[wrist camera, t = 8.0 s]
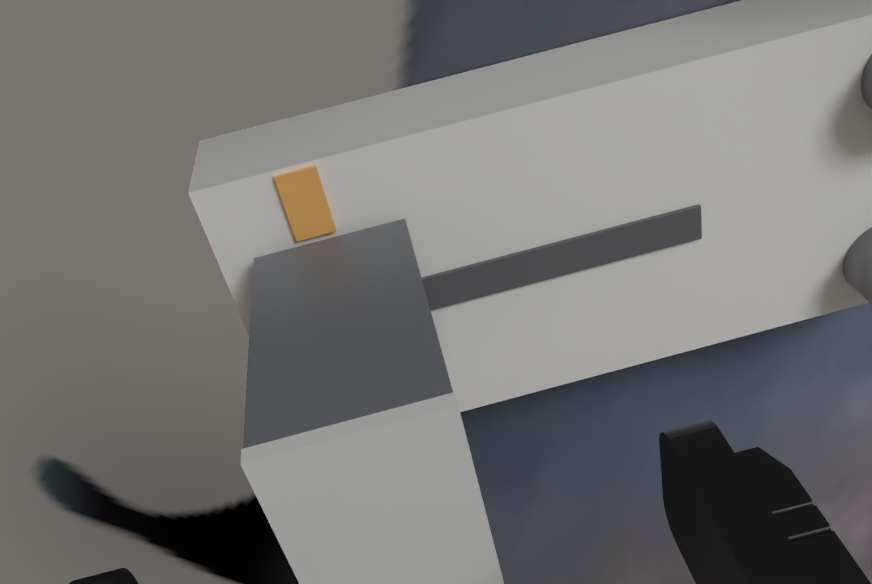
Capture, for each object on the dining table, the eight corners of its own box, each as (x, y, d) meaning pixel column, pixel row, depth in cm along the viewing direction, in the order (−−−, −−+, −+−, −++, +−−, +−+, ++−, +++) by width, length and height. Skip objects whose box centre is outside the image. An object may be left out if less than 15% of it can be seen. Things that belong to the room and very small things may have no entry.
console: (926, -48, 17) (1056, -11, 14) (889, 229, 21) (985, 302, 18) (199, 141, 17) (182, 217, 14) (298, 386, 21) (301, 486, 18)
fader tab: (405, 217, 16) (458, 405, 11) (446, 374, 18) (503, 584, 13) (252, 257, 15) (240, 464, 11) (313, 409, 18) (324, 634, 13)
